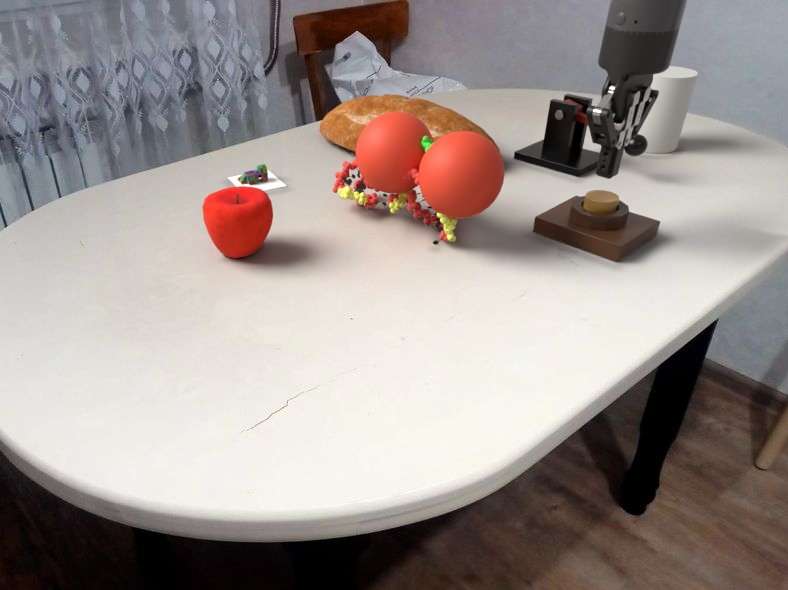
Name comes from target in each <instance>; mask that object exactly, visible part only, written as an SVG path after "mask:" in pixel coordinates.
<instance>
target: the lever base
mask: <svg viewBox="0 0 788 590" xmlns="http://www.w3.org/2000/svg"><path fill="white" fill-rule="evenodd" d="M567 99H570V100H572V101H574V102H576V103H578V104H576V103H571V102H567V101H565V100H567ZM593 99H594V98H591V97H586V96H581V95H577V94H571V93H566V94H564V95H563V100H562V99H558V98H557V99H556V98H552V99H550V101H549V106H548V112H547V118H546V124H545V130H544V135H543V139H542V140H539V141H536V142H534V143H532V144H530V145H526V146H524V147H523V148H520V149H518V150H515V151H514V152H513V153H514V154H513V159H514V160H516V161H520V162H524V163H528V164H532V165H534V166H539V167H541V168H545V169H549V170H553V171H556V172H559V173H562V174H566V175H569V176H573V177H577V178H580V177H581V176H583V175H585V174H588V173H590V172H592V171H594V170H596V168H597V163H598V159H599V155H600V152H598V151H594V150H590V149H587V148H584V144H585V138H586V133H587V129H588V126H587V125H585V124H583V123H581V122H579V121H578V120H577V121H576V117H577V112H578V107H579V104H580V105H582V106H583V108H582V111H581V112H582V113H584V114H586V111H587V108H588V107H589V106H590V105H592V106H593Z"/></svg>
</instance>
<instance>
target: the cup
mask: <svg viewBox="0 0 788 590" xmlns="http://www.w3.org/2000/svg"><path fill="white" fill-rule="evenodd" d="M698 76H699V72H698V71H696V70H694V69H692V68H687V67H683V66H676V65H670V66H669V68H668V69H667V70H666V71H664V72H662V73H658V74H653V82H652V84H651V86H650V87H651V89H653V90H658V91H659V94H658V97H657V99H656V101H655V103H654V105H653V107H652V108H651V110H650V112H649V114H648V116H647V118H646V119H645V121H644V123H643V125H642V127H641V129H640V130H639V132H638V134H640V135H643V136H644V137H645V138H646V139H647V142H648V146H647V149H646V151H645V152H644V153H647V154H668V153H672V152H675V151H677V148H678V144H679V141H680V138H681V135H682V131H683V128H684V124H685V120H686V117H687V113H688V110H689V108H690V107H689V106H690V103H691V99H692V96H693V92H694V89H695V85H696V83H697V79H698Z"/></svg>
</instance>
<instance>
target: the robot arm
mask: <svg viewBox="0 0 788 590" xmlns="http://www.w3.org/2000/svg"><path fill="white" fill-rule="evenodd" d="M687 3H688V0H610V3H609V7H608V12H607V16H606V21H605V26H604V31H603V35H602V40H601V46H600V49H599V54H598V59H597V65H598V66H599V68H600V69H602V70H605V71H606V73H607V76H606V79H605V81H604V83H603V85H602V89H601V97H600V98H601V99H600V101H599V102H598V103H597V105H593V104H592V105H590V106H589V107H588V108H587V111H586V116H587V121H588V125H589V126H588V129H589V134H590V138H591V142H592V144H596V145H599V146H601V147H600V151H599V153H600V155H599V159H598V163H597V168H596V169H595V174H596V176H597V177H601V178H605V179H612V178H614V177H615V176H618V174H619V171H620V167H621V163H622V159H623V156H624V152H625V150H624V146H627V145H628V144H629V142H630V138H631V137H634V138H635V137H636V136H637V134H638V132H639V130H640V129H641V127H642V125H643V123H644V121H645V119H646V118H647V116H648V114H649V112H650V110H651V108H652V107H653V105H654V103H655V101H656V99H657V97H658V94H659V91H658V90H653V89H651V87H650V86H651V84H652V82H653V74H658V73H662V72H664V71H666V70H667V69H668V68H669V66H671V62H672V58H673V56H674V51H675V47H676V43H677V40H678V36H679V32H680V28H681V25H682V21H683V18H684V15H685V10H686V8H687V7H686V6H687Z"/></svg>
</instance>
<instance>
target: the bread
mask: <svg viewBox="0 0 788 590" xmlns="http://www.w3.org/2000/svg"><path fill="white" fill-rule="evenodd" d="M389 112H404V113H408V114H410V115H413V116H415V117H416V118H418V119H419V120H421V121H422V122H423V123H424V124H425V125H426V127H427V128H428V129H429V131H430V133H431V135H432V138H433V141H434V142H435V141H436V140H438V139H439V138H441V137H442V136H444V135H447V134H449V133H452V132H459V131H470V132H475V133H478V134H480V135H482V136H485V137H486V138H487V139H489V140H490V141H492V143H493V144H494V145H495V146H496V147H497V148H498V150H499V152H500V153H501V150H500V148H499V146H498V144H497V143H496V141H495V140H494V139H493V138H492V137H491V136H490V134H489V133H487V131H486V130H485V129H484V128H482V127H481V126H479V125H478V124H476V123H475V122H473V121H472V120H471V119H468V118H467V117H466V116H464V115H463V114H460V113H458V112H457V111H455V110H453V109H452V108H448V107H446V106H442V105H439V104H437V103H435V102H432V101H430V100H427V99H423V98H419V97H413V98H411V97H408V96H404V95H401V94H391V93H389V94H387V93H383V94H382V95H374V94H369V95H362V96H358V97H355V98H351V99H348V100H345V101H343V102H341V103H340V104H339V105H337V106H336V107H334V108H333V109H332V110H330V111H329V112H327V113H326V114H325V116H324V117H323V119H322V120H321V122H320V124H319V128H318V130H319V133H320V134H321V136H322V137H323V138H324V139H326V140H327V141H328V142H330V143H332V144H334V145H337V146H340V147H342V148H344V149H346V150H348V151H350V152H353V153H354V154H356V147H357V142H358V140H359V137H360V135H361V133H362V131H363V130H364V128H365V127H366V126H367V125H368V124H369V122H370V121H372V120H373V119H375V118H376V117H378V116H380V115H383V114H385V113H389Z"/></svg>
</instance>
